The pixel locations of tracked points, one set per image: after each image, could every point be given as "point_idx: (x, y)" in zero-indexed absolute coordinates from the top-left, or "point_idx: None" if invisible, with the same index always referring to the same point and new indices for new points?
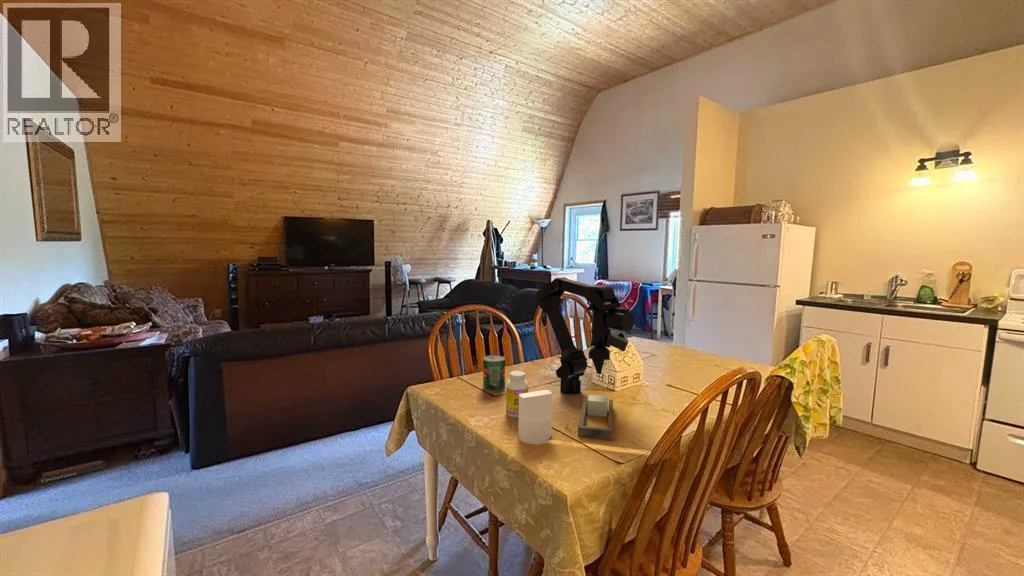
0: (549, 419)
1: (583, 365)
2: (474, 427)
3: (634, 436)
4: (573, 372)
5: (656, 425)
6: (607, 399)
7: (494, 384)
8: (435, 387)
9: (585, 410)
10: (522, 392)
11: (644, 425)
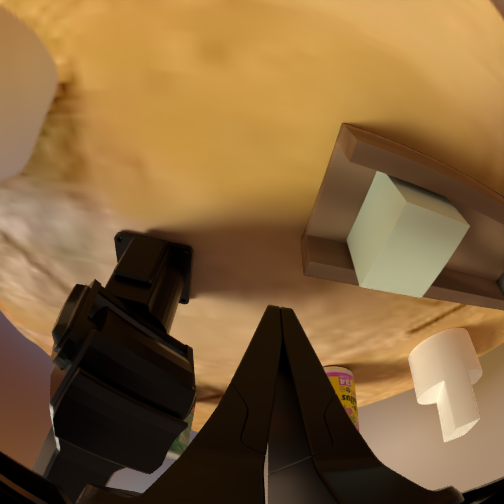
0: (481, 369)
1: (123, 361)
2: (369, 403)
3: None
4: (188, 371)
5: (488, 13)
6: (441, 215)
7: (193, 407)
8: (199, 426)
9: (439, 287)
10: (358, 427)
11: (489, 57)
